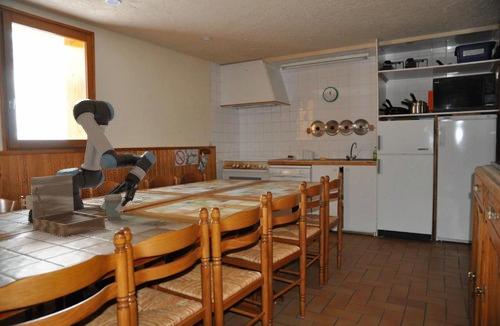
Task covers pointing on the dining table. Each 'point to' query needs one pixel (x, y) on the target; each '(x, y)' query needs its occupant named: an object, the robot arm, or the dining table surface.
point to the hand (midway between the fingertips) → (109, 209)
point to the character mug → (28, 206)
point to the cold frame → (59, 208)
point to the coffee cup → (112, 206)
